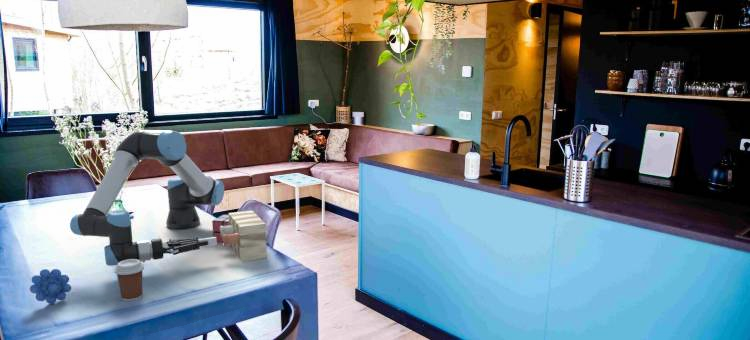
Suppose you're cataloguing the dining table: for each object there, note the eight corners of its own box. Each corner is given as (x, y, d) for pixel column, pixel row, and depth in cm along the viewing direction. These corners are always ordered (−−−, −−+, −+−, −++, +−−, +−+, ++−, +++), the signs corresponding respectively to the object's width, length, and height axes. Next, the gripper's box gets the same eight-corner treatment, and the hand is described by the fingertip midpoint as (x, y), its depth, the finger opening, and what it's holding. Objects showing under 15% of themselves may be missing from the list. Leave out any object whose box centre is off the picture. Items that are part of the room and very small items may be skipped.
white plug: (220, 235, 229) (219, 224, 228) (253, 230, 235) (252, 220, 234) (222, 238, 225) (221, 227, 224) (255, 233, 231) (255, 223, 230)
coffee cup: (111, 301, 179) (107, 266, 177) (127, 290, 188) (124, 257, 186) (136, 303, 178) (133, 268, 176) (152, 292, 187) (149, 258, 185)
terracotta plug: (222, 244, 218) (222, 232, 217) (257, 239, 224) (257, 228, 223) (225, 247, 214) (224, 236, 213) (260, 242, 220) (259, 231, 219)
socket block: (230, 244, 235) (228, 213, 232) (253, 241, 239) (252, 210, 236) (241, 261, 215) (239, 226, 213) (266, 257, 220) (265, 223, 217)
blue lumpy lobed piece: (36, 313, 171) (31, 276, 169) (30, 306, 176) (25, 271, 174) (76, 301, 180) (72, 266, 177) (69, 295, 184) (65, 261, 182)
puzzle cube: (234, 244, 236) (233, 222, 234) (213, 243, 238) (211, 220, 236) (244, 237, 245) (243, 215, 243) (223, 236, 247) (222, 214, 245)
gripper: (150, 254, 211) (213, 244, 221) (153, 265, 199) (220, 254, 210) (148, 235, 209) (212, 226, 220) (151, 245, 198) (218, 236, 208)
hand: (216, 240), depth 215 cm, fingers closed
